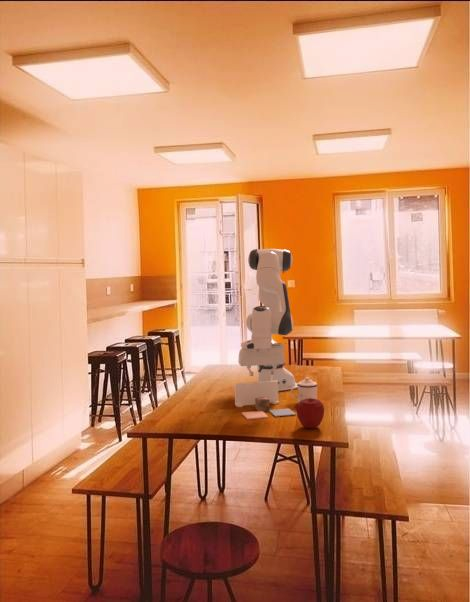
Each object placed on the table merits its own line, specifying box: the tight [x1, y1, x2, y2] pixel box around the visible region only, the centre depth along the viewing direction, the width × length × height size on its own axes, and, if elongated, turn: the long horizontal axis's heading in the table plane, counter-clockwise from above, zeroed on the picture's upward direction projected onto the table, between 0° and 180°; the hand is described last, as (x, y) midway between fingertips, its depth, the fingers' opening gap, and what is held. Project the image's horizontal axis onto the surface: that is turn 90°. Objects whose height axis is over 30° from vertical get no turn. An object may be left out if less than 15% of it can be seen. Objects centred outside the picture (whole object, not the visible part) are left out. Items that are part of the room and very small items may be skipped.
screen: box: [234, 380, 280, 408], centre depth 234 cm, size 20×5×10 cm, turn 103°
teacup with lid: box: [290, 377, 318, 404], centre depth 234 cm, size 12×9×12 cm
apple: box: [295, 398, 325, 430], centre depth 198 cm, size 11×11×12 cm
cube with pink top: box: [254, 397, 271, 412], centre depth 226 cm, size 5×5×5 cm
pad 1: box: [241, 410, 269, 421], centre depth 216 cm, size 9×9×1 cm
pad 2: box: [268, 408, 297, 418], centre depth 218 cm, size 9×9×1 cm
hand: (261, 375), depth 225 cm, fingers open, 8 cm apart
